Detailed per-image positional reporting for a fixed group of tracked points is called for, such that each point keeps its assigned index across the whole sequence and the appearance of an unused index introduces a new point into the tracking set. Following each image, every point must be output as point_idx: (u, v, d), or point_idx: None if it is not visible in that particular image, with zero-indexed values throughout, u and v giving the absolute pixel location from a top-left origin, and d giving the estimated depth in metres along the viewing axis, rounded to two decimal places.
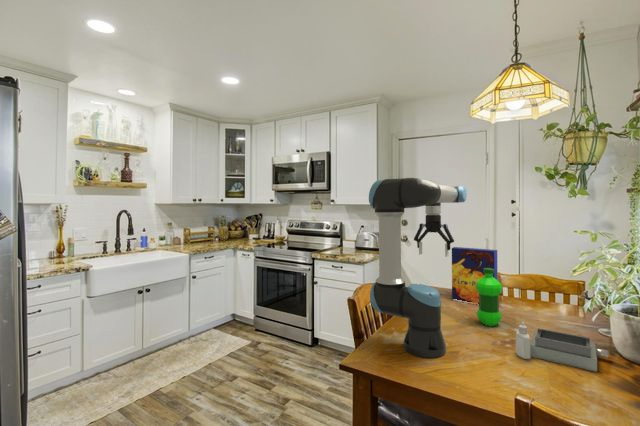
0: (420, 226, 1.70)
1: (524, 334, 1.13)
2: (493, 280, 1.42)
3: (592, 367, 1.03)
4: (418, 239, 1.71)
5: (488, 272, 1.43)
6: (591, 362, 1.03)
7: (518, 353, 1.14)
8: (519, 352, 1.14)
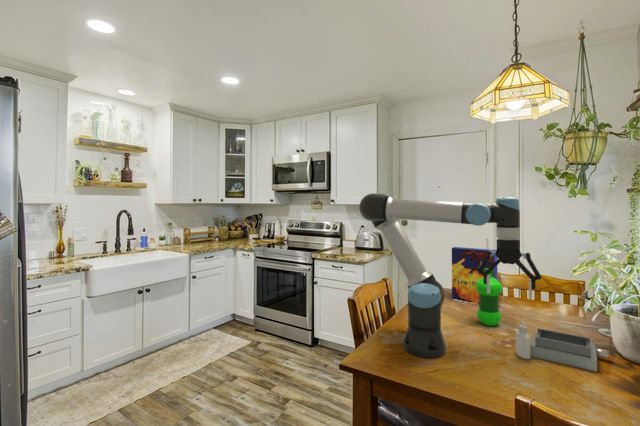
0: (488, 254, 1.23)
1: (524, 334, 1.13)
2: (493, 280, 1.42)
3: (592, 367, 1.03)
4: (485, 272, 1.24)
5: None
6: (591, 362, 1.03)
7: (518, 353, 1.14)
8: (519, 352, 1.14)
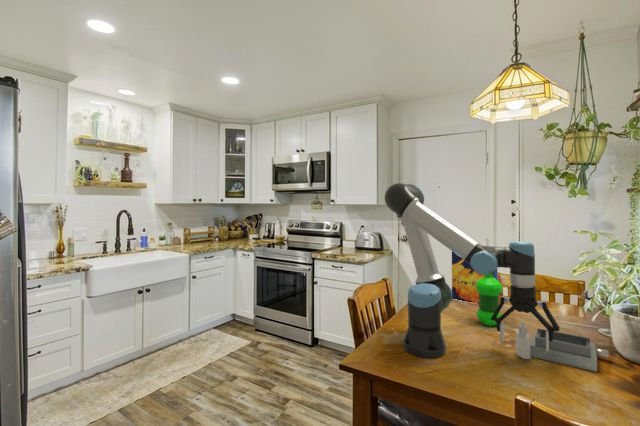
0: (502, 301, 1.17)
1: (524, 334, 1.13)
2: (493, 280, 1.42)
3: (592, 367, 1.03)
4: (499, 319, 1.18)
5: None
6: (591, 362, 1.03)
7: (518, 353, 1.14)
8: (519, 352, 1.14)
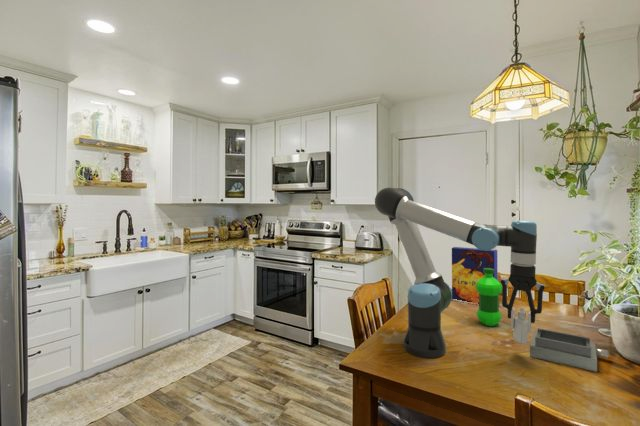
0: (503, 284, 1.17)
1: (522, 319, 1.13)
2: (493, 280, 1.42)
3: (592, 367, 1.03)
4: (509, 306, 1.15)
5: (488, 272, 1.43)
6: (591, 362, 1.03)
7: (515, 338, 1.15)
8: (516, 337, 1.14)
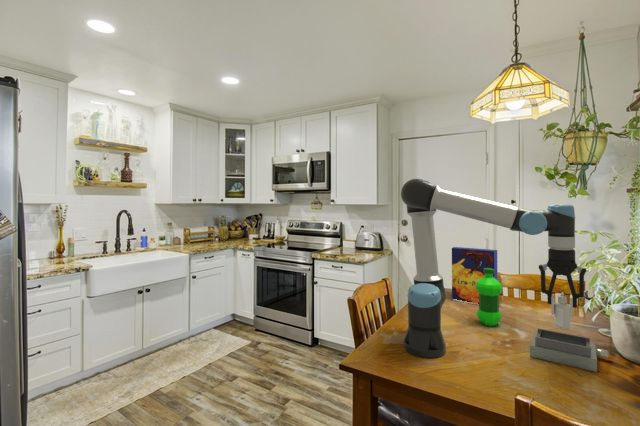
0: (541, 269, 1.15)
1: (564, 304, 1.11)
2: (493, 280, 1.42)
3: (592, 367, 1.03)
4: (549, 291, 1.14)
5: (488, 272, 1.43)
6: (591, 362, 1.03)
7: (557, 324, 1.12)
8: (557, 323, 1.12)
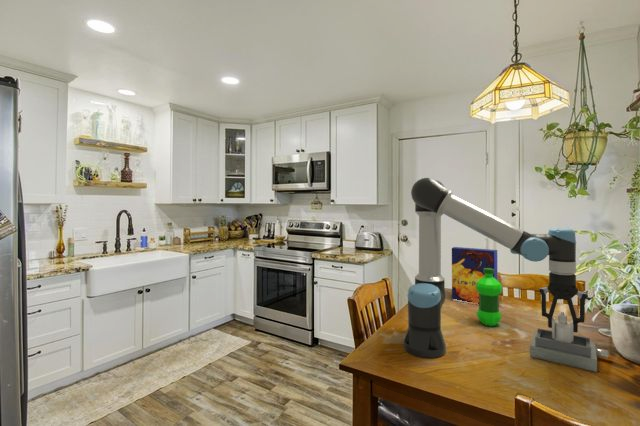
0: (542, 293, 1.15)
1: (564, 324, 1.11)
2: (493, 280, 1.42)
3: (592, 367, 1.03)
4: (549, 315, 1.14)
5: (488, 272, 1.43)
6: (591, 362, 1.03)
7: None
8: None
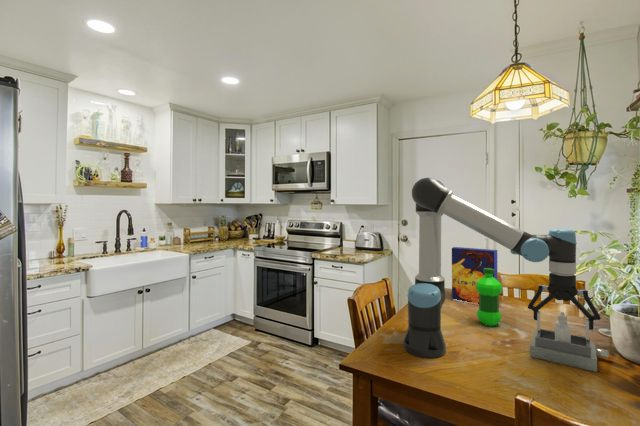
0: (540, 289, 1.15)
1: (564, 324, 1.11)
2: (493, 280, 1.42)
3: (592, 367, 1.03)
4: (536, 308, 1.16)
5: (488, 272, 1.43)
6: (591, 362, 1.03)
7: None
8: None
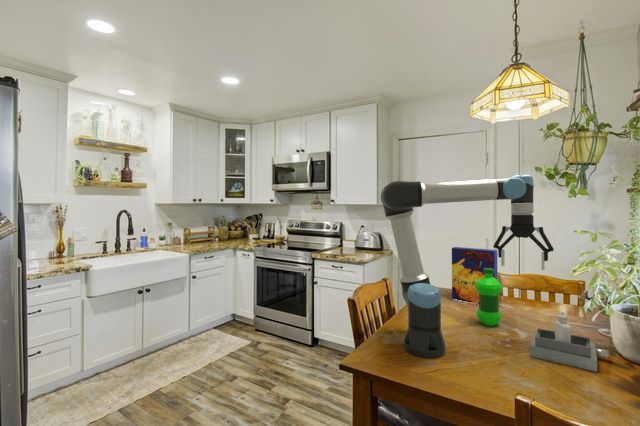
0: (503, 229, 1.31)
1: (564, 324, 1.11)
2: (493, 280, 1.42)
3: (592, 367, 1.03)
4: (500, 246, 1.32)
5: (488, 272, 1.43)
6: (591, 362, 1.03)
7: None
8: None
